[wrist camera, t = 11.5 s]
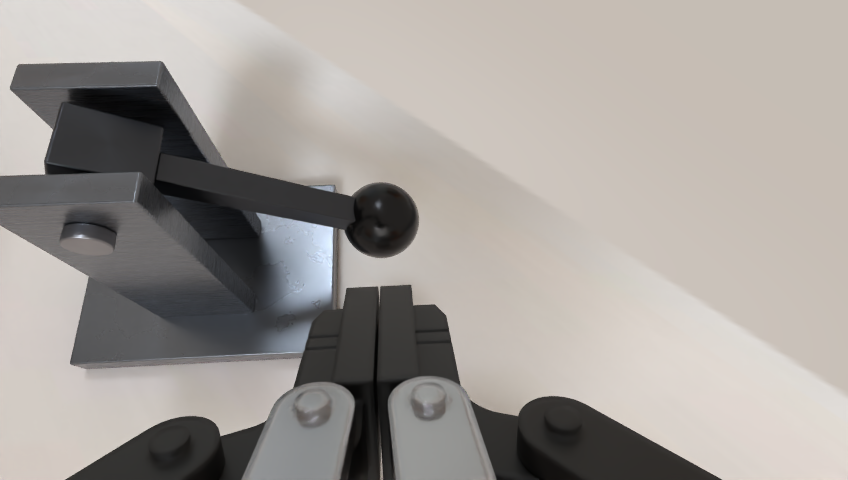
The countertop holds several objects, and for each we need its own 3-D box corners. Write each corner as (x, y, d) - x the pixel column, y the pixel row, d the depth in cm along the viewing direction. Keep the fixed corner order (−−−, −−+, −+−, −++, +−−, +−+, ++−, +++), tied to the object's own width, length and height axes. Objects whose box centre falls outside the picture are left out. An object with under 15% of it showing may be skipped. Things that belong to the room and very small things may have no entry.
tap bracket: (338, 195, 28) (289, 10, 17) (336, 356, 25) (271, 264, 13) (119, 203, 28) (-90, 17, 16) (85, 369, 24) (-217, 285, 13)
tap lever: (394, 209, 24) (431, 178, 22) (396, 272, 23) (435, 247, 20) (65, 134, 17) (64, 78, 15) (43, 217, 16) (38, 171, 14)
